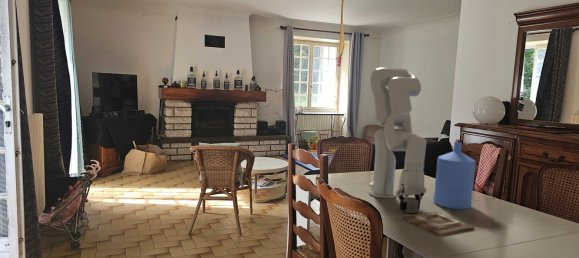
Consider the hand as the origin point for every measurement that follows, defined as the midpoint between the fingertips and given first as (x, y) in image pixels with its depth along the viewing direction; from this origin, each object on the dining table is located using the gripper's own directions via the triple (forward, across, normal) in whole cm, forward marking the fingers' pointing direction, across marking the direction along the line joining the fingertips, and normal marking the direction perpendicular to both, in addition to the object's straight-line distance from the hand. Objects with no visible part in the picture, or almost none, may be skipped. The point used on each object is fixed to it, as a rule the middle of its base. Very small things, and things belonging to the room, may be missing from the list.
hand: (409, 208), depth 158 cm
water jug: (+2, -27, -1) cm, 27 cm away
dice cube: (+1, 0, 0) cm, 1 cm away
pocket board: (+1, 0, +15) cm, 15 cm away
